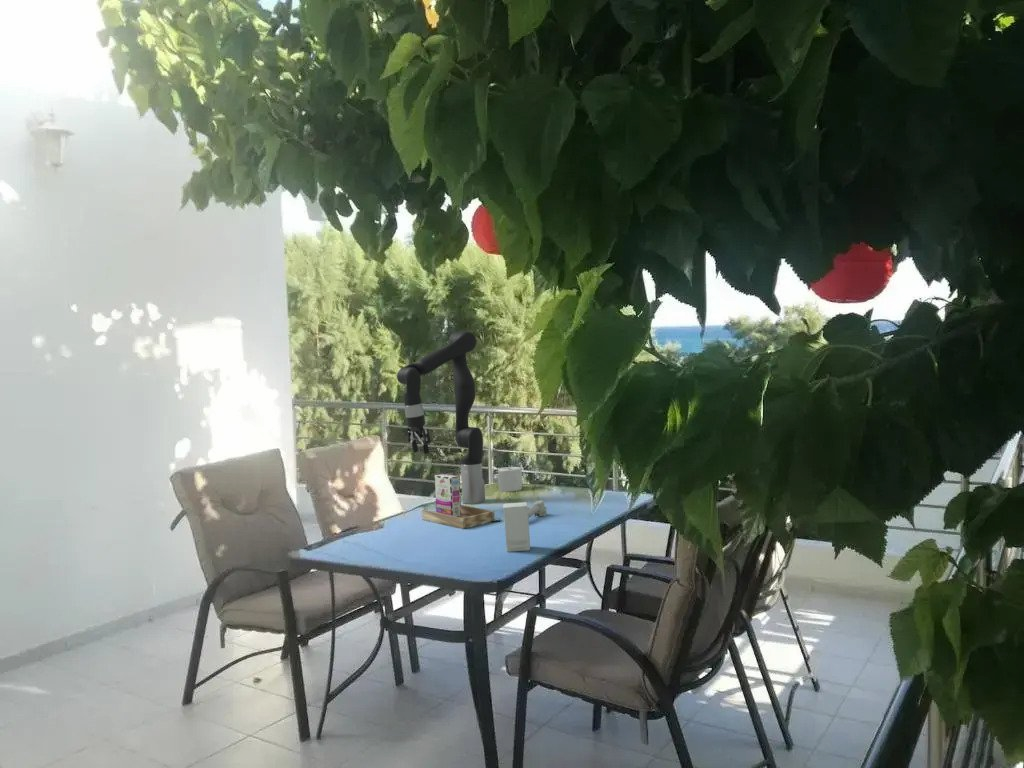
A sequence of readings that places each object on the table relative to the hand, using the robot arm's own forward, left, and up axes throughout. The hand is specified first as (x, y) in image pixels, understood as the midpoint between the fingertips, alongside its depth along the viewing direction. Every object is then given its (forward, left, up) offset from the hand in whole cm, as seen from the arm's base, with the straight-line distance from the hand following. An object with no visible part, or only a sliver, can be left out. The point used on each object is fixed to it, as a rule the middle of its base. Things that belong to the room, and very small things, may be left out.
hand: (420, 452), depth 345 cm
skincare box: (+16, +75, -26) cm, 81 cm away
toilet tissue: (-55, -6, -26) cm, 61 cm away
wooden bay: (+1, +24, -25) cm, 35 cm away
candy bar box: (+1, +18, -24) cm, 30 cm away
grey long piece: (-16, +47, -26) cm, 56 cm away
